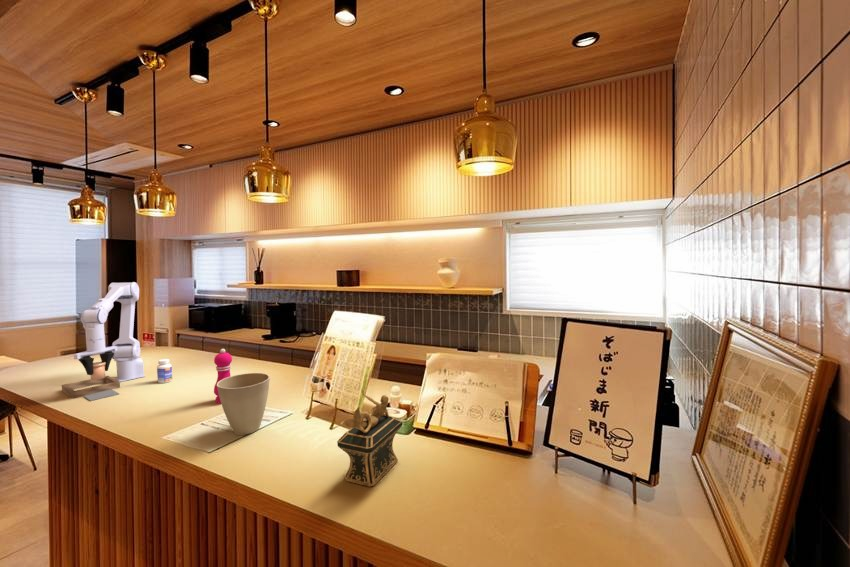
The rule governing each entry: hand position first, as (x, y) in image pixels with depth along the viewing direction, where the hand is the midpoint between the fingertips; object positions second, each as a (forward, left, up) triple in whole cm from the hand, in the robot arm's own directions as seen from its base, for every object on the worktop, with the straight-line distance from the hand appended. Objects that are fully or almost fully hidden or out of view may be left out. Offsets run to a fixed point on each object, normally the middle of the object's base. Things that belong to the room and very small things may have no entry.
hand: (97, 372), depth 154 cm
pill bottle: (-22, +4, -9) cm, 24 cm away
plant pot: (-16, +82, -9) cm, 84 cm away
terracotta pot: (0, 0, -2) cm, 2 cm away
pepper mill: (-25, +51, -9) cm, 57 cm away
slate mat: (0, +2, -9) cm, 9 cm away
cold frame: (0, -11, -9) cm, 14 cm away
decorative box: (-20, +131, -9) cm, 133 cm away
